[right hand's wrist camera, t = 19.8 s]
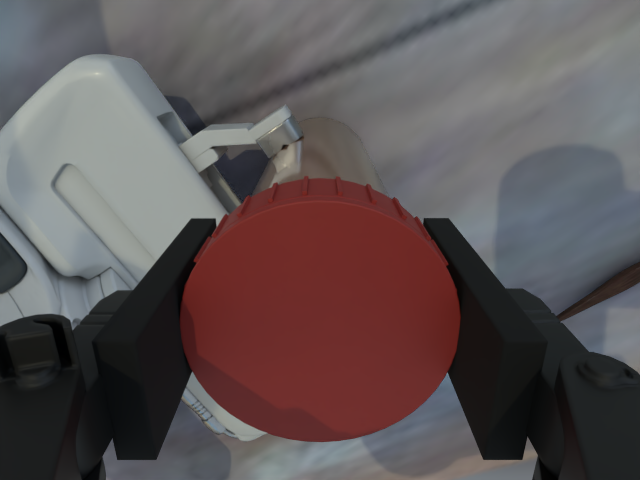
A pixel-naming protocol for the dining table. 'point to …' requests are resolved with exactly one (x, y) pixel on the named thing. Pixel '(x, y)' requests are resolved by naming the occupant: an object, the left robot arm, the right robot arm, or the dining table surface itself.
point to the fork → (605, 291)
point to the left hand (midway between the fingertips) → (335, 183)
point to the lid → (320, 312)
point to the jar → (322, 157)
